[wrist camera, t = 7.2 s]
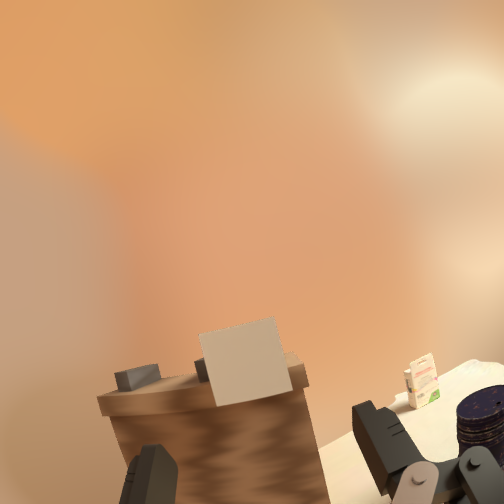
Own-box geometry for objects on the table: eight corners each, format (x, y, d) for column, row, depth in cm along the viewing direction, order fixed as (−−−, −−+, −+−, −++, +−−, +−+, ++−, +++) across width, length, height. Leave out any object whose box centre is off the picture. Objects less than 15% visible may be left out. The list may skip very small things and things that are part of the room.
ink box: (432, 394, 63) (424, 350, 67) (440, 397, 58) (433, 351, 62) (408, 406, 63) (400, 361, 67) (416, 410, 58) (408, 363, 62)
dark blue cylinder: (444, 481, 24) (443, 412, 28) (484, 451, 25) (484, 382, 29) (478, 501, 15) (486, 424, 19) (520, 462, 16) (526, 385, 20)
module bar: (279, 351, 35) (270, 319, 36) (293, 390, 13) (272, 308, 14) (249, 359, 35) (241, 327, 36) (217, 406, 13) (196, 326, 14)
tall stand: (336, 534, 23) (288, 335, 32) (351, 577, 12) (297, 339, 21) (212, 552, 23) (139, 365, 32) (199, 594, 12) (91, 376, 21)
